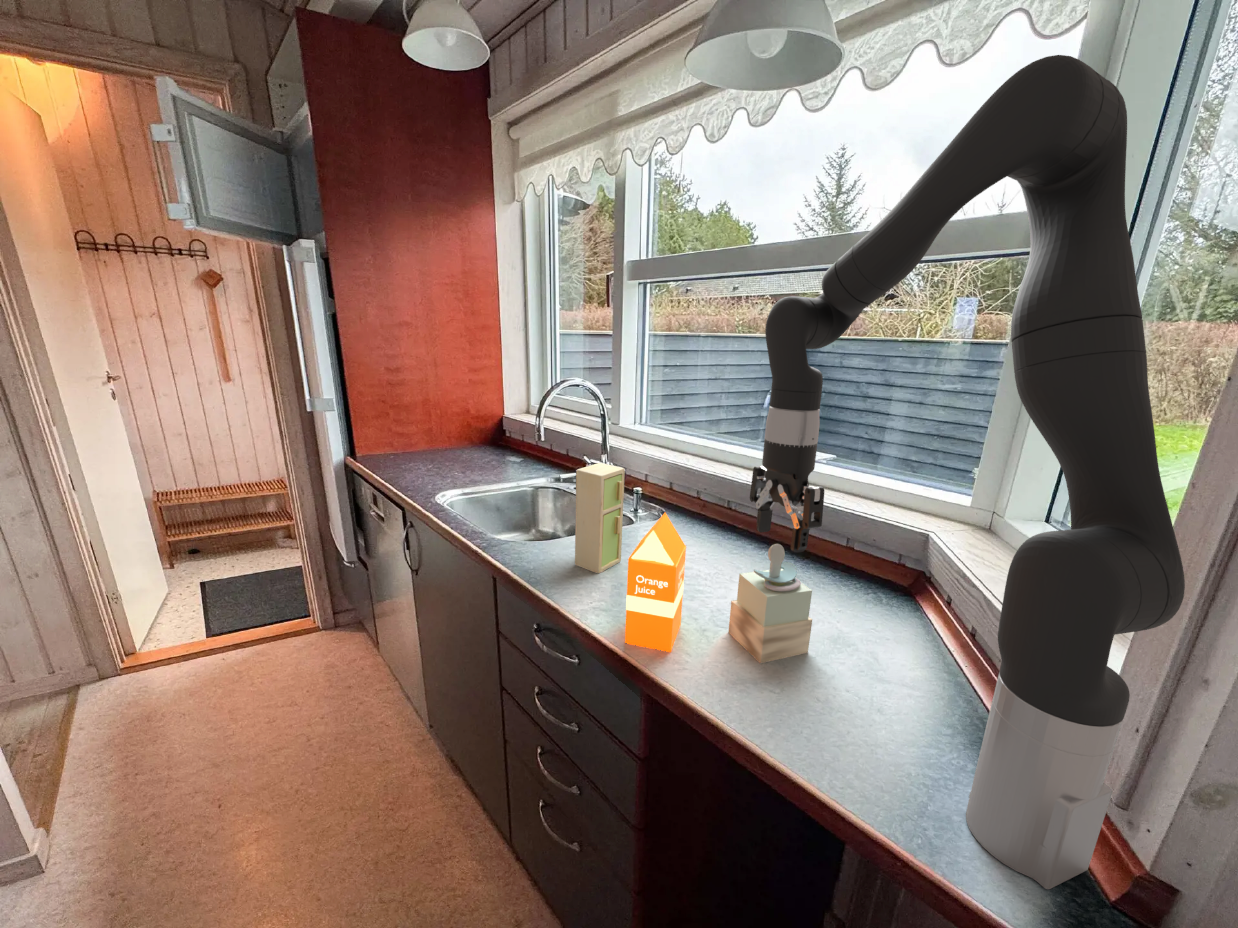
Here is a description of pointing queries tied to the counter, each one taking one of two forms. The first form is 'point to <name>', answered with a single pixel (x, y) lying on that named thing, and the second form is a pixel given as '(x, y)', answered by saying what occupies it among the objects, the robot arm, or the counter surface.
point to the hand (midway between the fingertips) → (779, 540)
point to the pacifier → (779, 571)
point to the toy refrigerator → (599, 516)
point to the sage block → (773, 600)
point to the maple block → (768, 635)
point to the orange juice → (655, 588)
